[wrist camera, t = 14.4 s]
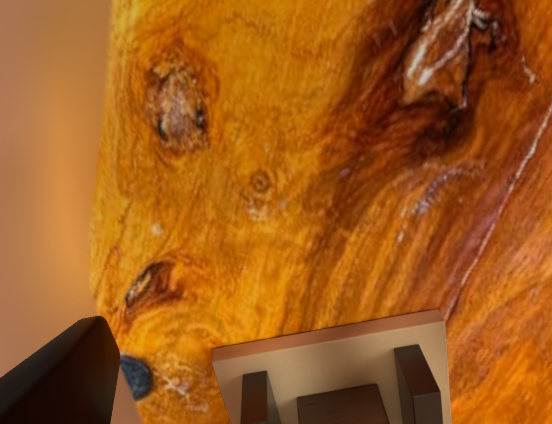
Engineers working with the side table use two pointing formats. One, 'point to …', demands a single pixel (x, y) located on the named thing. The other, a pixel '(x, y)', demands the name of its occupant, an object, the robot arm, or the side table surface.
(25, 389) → the robot arm
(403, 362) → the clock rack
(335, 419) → the dark brown block
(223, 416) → the side table surface
